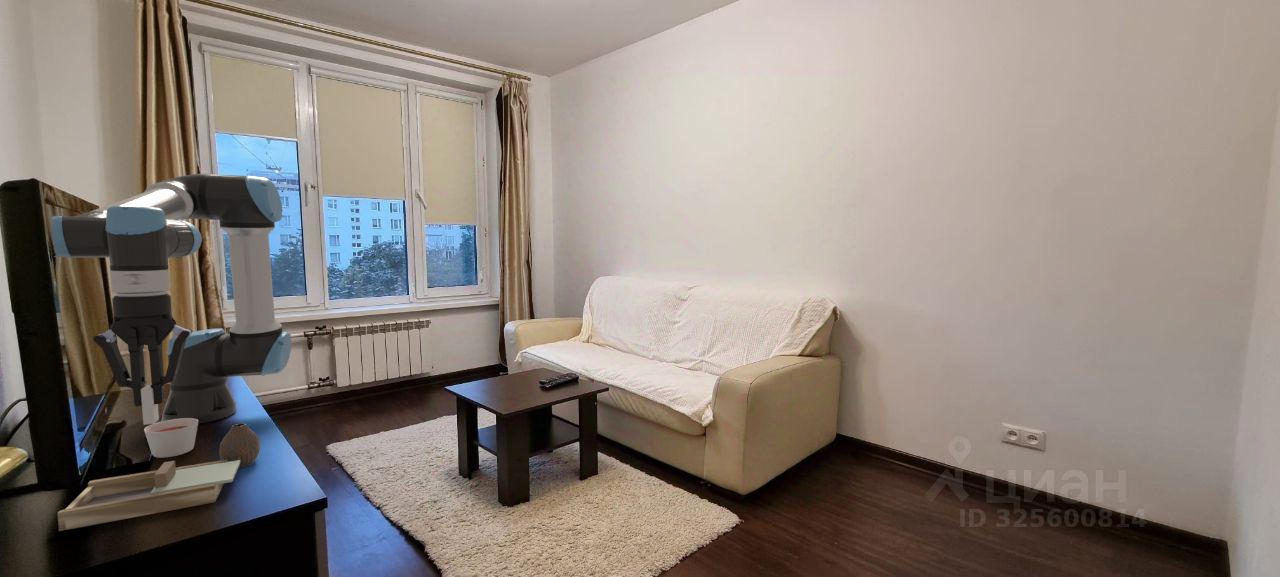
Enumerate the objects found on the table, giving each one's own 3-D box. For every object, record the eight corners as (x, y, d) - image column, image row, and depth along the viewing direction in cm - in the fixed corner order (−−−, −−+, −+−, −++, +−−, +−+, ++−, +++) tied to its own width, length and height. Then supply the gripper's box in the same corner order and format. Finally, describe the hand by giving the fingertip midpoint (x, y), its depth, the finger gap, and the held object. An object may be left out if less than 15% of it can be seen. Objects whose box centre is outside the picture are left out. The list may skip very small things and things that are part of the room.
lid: (166, 474, 99) (165, 459, 99) (240, 462, 105) (239, 448, 105) (150, 495, 91) (149, 479, 91) (232, 481, 97) (231, 466, 96)
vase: (238, 473, 106) (236, 432, 105) (211, 469, 107) (209, 429, 106) (268, 459, 113) (267, 420, 112) (242, 456, 114) (241, 418, 113)
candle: (137, 463, 110) (135, 434, 109) (156, 447, 118) (154, 420, 117) (191, 456, 113) (189, 428, 113) (205, 442, 122) (204, 416, 121)
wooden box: (91, 496, 95) (90, 480, 95) (228, 474, 105) (227, 459, 105) (58, 531, 84) (57, 513, 84) (215, 502, 94) (214, 485, 94)
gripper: (81, 297, 85) (93, 434, 87) (184, 294, 92) (192, 422, 94) (99, 292, 91) (109, 420, 94) (194, 290, 98) (201, 410, 100)
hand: (151, 421), depth 94 cm, fingers closed
